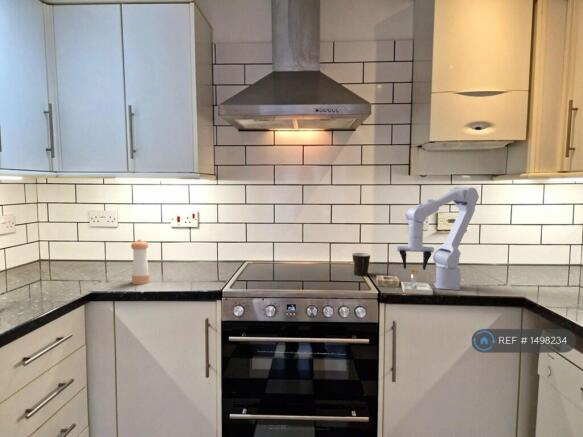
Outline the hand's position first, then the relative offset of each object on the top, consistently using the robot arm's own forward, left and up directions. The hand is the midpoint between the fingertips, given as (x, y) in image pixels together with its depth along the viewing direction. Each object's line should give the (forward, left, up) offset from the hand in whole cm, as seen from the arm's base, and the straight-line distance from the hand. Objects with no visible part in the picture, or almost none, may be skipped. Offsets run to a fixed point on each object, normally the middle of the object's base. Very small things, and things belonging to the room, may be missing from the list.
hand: (414, 268), depth 155 cm
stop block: (+10, -8, -9) cm, 16 cm away
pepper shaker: (+118, +12, -9) cm, 119 cm away
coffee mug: (+22, -21, -9) cm, 32 cm away
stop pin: (0, 0, -9) cm, 9 cm away
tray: (-1, +1, -9) cm, 9 cm away
